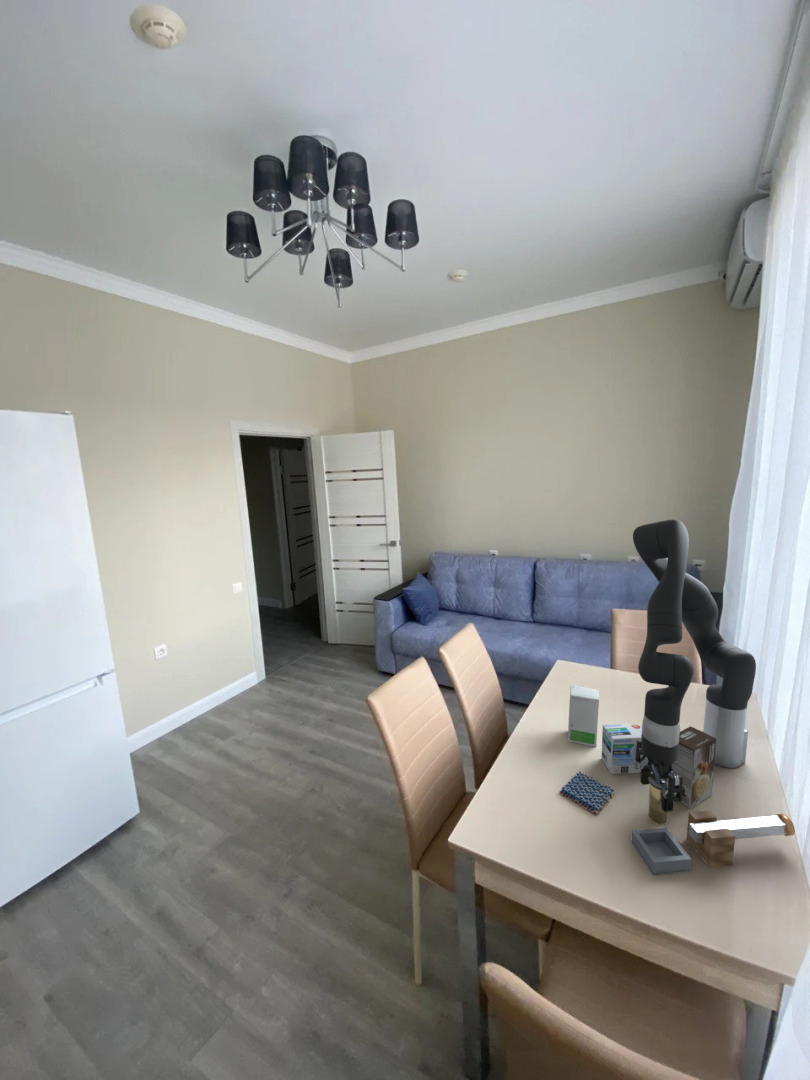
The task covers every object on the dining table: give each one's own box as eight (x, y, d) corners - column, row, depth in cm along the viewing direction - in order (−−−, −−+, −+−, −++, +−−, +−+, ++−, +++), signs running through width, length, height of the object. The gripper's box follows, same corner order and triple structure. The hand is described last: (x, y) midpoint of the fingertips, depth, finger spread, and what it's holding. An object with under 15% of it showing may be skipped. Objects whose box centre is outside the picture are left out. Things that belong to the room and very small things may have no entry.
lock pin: (777, 825, 98) (779, 809, 97) (793, 840, 94) (795, 824, 93) (685, 833, 97) (687, 817, 96) (698, 849, 93) (700, 832, 92)
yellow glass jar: (661, 808, 108) (663, 772, 106) (674, 824, 103) (676, 786, 101) (642, 810, 107) (644, 773, 106) (654, 826, 103) (656, 788, 101)
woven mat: (616, 795, 113) (617, 788, 113) (597, 818, 106) (597, 811, 106) (578, 775, 121) (578, 768, 120) (557, 795, 114) (557, 788, 114)
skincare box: (567, 742, 134) (568, 695, 131) (568, 729, 140) (569, 684, 137) (597, 747, 131) (599, 699, 128) (597, 734, 137) (598, 688, 134)
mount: (707, 837, 99) (710, 809, 98) (732, 865, 92) (735, 836, 91) (686, 839, 99) (688, 811, 98) (709, 867, 92) (712, 838, 91)
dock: (665, 838, 99) (666, 827, 99) (690, 871, 91) (691, 859, 91) (631, 842, 99) (631, 830, 98) (652, 874, 91) (653, 862, 90)
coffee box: (686, 779, 116) (690, 724, 114) (712, 795, 111) (717, 738, 108) (665, 793, 112) (669, 736, 109) (691, 809, 107) (695, 750, 104)
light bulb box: (611, 774, 120) (612, 739, 118) (600, 758, 126) (601, 724, 124) (650, 773, 120) (652, 737, 118) (637, 756, 126) (639, 722, 124)
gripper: (627, 718, 109) (624, 776, 111) (663, 756, 95) (658, 821, 97) (657, 716, 109) (653, 774, 112) (697, 754, 95) (691, 819, 98)
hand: (655, 796), depth 105 cm, fingers open, 8 cm apart
